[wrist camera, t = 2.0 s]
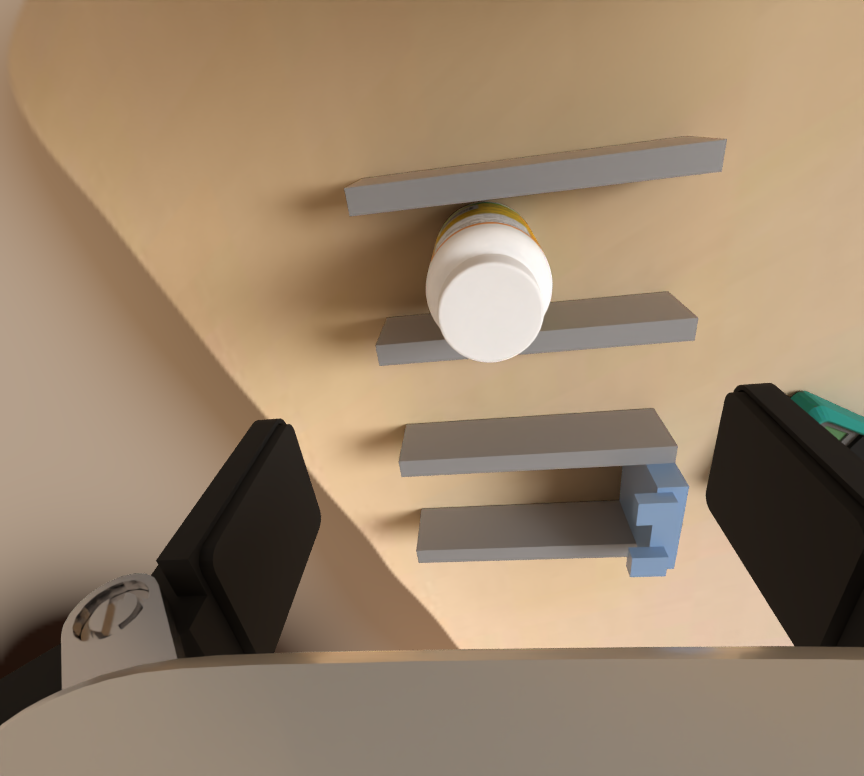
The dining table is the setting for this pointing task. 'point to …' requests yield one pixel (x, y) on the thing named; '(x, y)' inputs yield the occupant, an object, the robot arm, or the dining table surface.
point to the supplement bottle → (488, 282)
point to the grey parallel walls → (561, 331)
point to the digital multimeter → (835, 420)
